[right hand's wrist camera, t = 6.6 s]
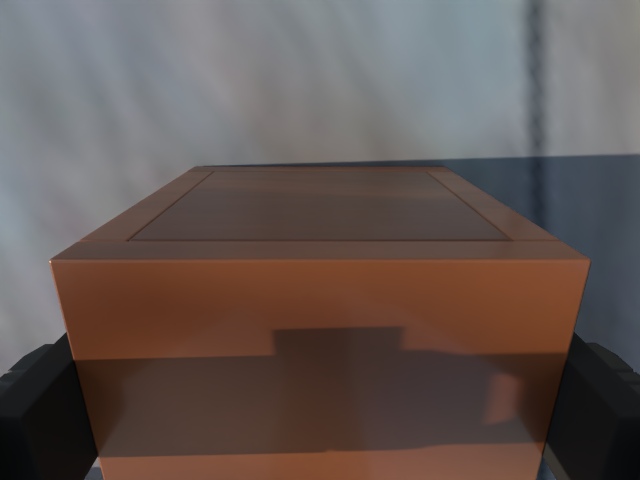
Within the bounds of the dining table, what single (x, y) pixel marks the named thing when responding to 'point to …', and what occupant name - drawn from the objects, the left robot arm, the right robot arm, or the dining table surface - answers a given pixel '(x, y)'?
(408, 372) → the cabinet
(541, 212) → the dining table surface
